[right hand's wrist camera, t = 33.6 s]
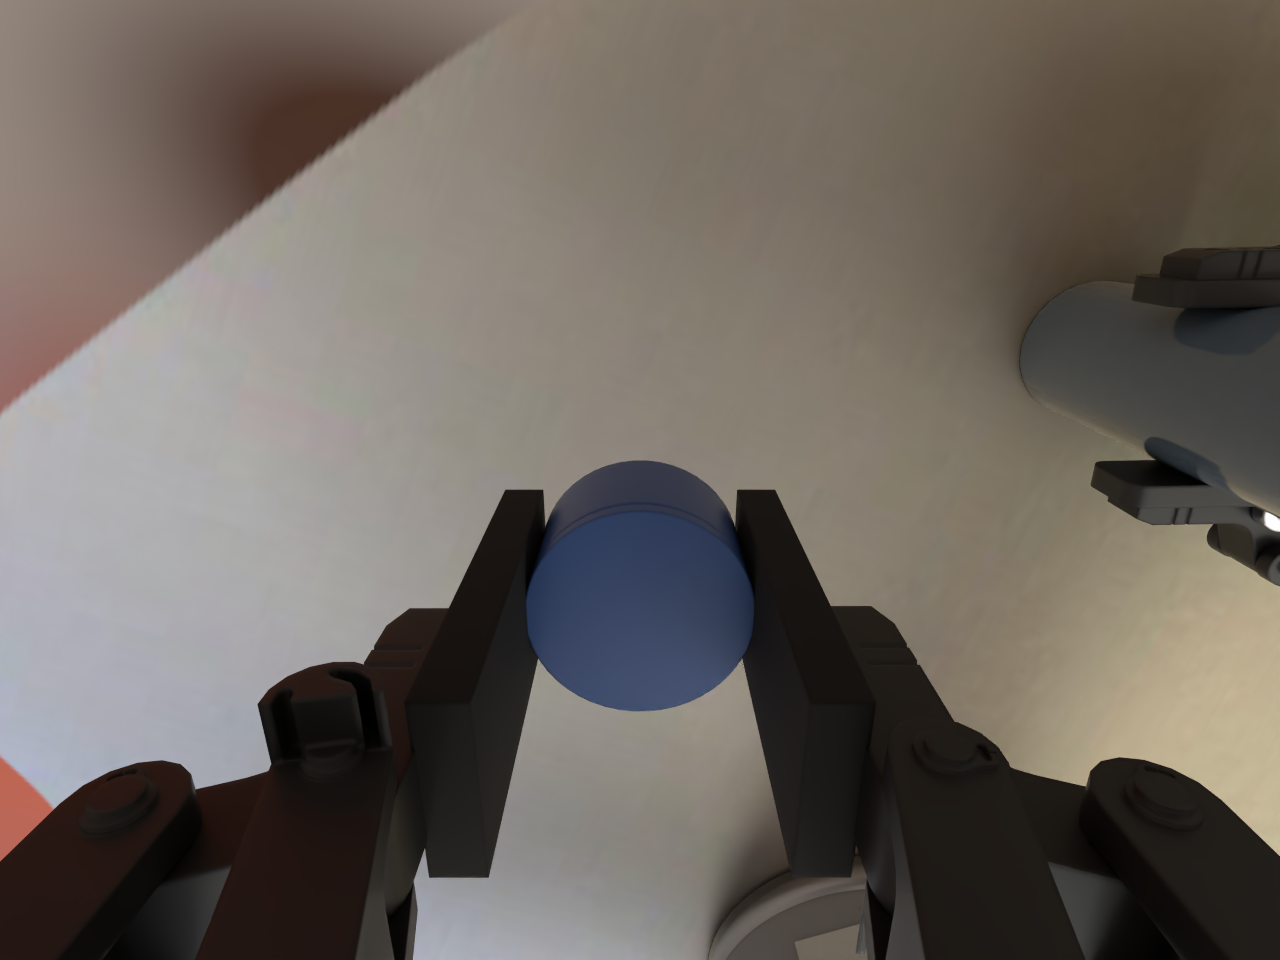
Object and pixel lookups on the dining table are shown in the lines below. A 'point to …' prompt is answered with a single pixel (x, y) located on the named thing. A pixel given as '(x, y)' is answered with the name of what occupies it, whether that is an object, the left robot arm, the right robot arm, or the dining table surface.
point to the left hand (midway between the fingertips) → (1131, 393)
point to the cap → (640, 589)
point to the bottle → (1166, 382)
